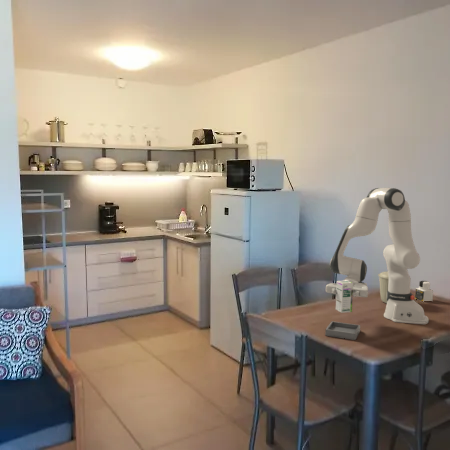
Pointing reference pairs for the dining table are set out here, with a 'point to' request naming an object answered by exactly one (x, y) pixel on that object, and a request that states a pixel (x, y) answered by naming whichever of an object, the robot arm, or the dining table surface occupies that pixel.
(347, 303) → the syrup box
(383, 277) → the canister
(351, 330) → the tray
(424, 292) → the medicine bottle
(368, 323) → the dining table surface
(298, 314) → the dining table surface
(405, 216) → the robot arm
